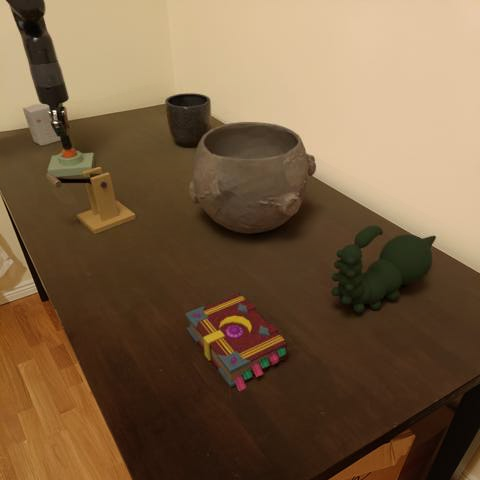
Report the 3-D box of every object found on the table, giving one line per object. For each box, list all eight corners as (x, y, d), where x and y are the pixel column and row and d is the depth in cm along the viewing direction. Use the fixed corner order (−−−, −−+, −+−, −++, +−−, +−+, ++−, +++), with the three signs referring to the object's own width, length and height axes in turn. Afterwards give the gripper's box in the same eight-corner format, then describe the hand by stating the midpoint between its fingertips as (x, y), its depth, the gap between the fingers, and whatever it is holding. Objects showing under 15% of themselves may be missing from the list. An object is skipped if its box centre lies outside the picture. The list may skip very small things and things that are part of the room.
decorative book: (240, 309, 81) (240, 289, 78) (291, 364, 71) (294, 344, 68) (186, 332, 77) (184, 311, 73) (233, 394, 67) (233, 373, 63)
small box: (56, 135, 144) (46, 101, 137) (64, 139, 141) (54, 105, 134) (33, 141, 140) (21, 107, 133) (41, 146, 137) (30, 111, 130)
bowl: (172, 242, 97) (160, 156, 84) (219, 187, 117) (216, 109, 103) (287, 267, 91) (295, 177, 77) (317, 204, 110) (328, 123, 96)
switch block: (49, 177, 121) (45, 163, 119) (54, 162, 128) (50, 149, 126) (93, 174, 123) (89, 160, 120) (95, 159, 130) (92, 146, 127)
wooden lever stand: (94, 234, 100) (82, 187, 92) (78, 219, 105) (64, 173, 97) (136, 218, 105) (127, 172, 97) (118, 204, 110) (108, 159, 102)
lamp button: (62, 159, 122) (60, 153, 120) (64, 154, 124) (62, 147, 123) (75, 158, 122) (74, 152, 121) (76, 153, 125) (75, 147, 123)
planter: (188, 131, 147) (185, 90, 138) (221, 140, 141) (219, 98, 132) (160, 144, 138) (155, 101, 129) (193, 154, 132) (190, 110, 124)
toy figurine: (352, 337, 78) (444, 281, 86) (366, 255, 64) (474, 197, 73) (318, 308, 84) (407, 258, 92) (324, 227, 70) (429, 176, 78)
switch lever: (54, 189, 90) (55, 178, 89) (45, 181, 93) (45, 170, 92) (108, 189, 98) (108, 178, 97) (98, 181, 101) (98, 171, 100)
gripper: (37, 74, 114) (57, 140, 126) (29, 89, 104) (51, 159, 116) (66, 73, 115) (83, 138, 127) (60, 87, 105) (79, 157, 117)
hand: (68, 148), depth 122 cm, fingers closed
